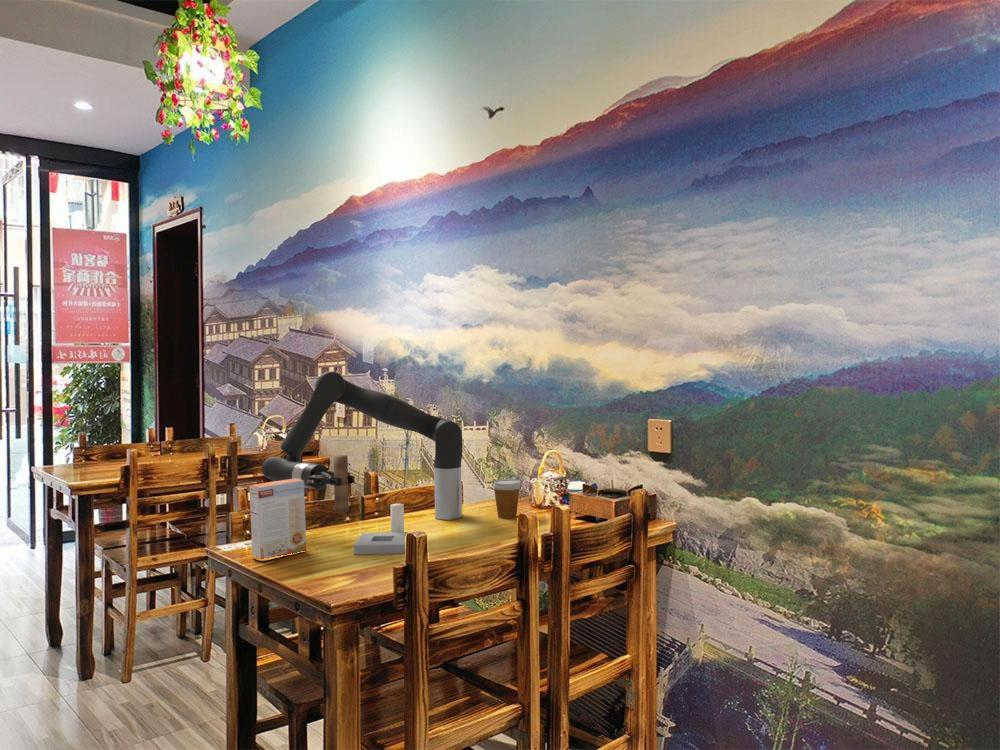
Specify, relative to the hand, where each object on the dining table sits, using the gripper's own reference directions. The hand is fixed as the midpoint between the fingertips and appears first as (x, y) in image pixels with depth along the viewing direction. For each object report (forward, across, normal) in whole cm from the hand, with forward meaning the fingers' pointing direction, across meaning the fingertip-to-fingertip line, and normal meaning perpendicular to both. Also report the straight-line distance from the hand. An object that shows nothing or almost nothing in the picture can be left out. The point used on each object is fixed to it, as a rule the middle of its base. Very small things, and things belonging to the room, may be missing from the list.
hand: (347, 480), depth 212 cm
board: (+7, +7, +20) cm, 22 cm away
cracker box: (-10, -16, +20) cm, 28 cm away
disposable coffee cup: (+13, +58, +20) cm, 63 cm away
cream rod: (+2, +17, +20) cm, 26 cm away
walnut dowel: (-3, 0, +9) cm, 9 cm away
